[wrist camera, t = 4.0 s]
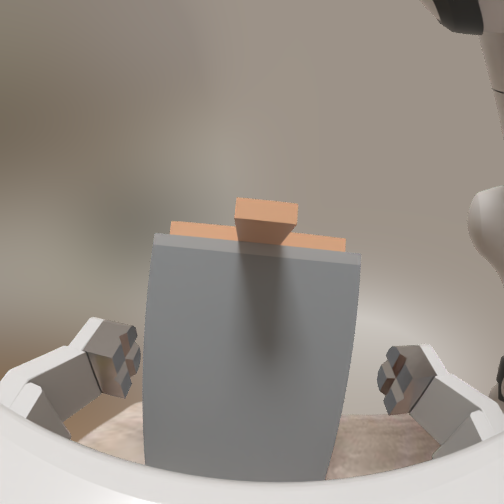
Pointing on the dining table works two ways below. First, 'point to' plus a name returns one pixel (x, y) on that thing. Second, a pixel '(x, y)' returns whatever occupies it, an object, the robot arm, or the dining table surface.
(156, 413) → the crate
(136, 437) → the dining table surface
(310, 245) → the lid
